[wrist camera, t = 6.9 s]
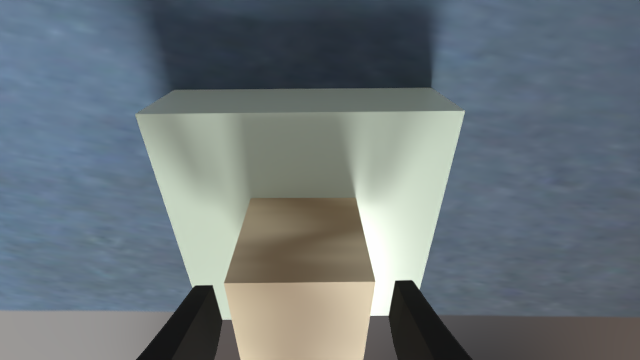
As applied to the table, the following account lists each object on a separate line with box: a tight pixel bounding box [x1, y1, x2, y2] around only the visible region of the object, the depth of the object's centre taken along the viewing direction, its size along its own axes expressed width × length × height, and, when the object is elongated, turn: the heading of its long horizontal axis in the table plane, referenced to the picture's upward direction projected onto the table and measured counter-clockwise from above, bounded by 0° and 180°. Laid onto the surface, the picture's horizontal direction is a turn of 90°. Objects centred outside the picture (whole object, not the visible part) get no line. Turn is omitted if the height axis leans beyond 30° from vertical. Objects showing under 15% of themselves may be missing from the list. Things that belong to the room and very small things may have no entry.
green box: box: [135, 88, 465, 320], centre depth 16 cm, size 12×12×4 cm
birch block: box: [224, 198, 375, 360], centre depth 12 cm, size 4×4×4 cm
